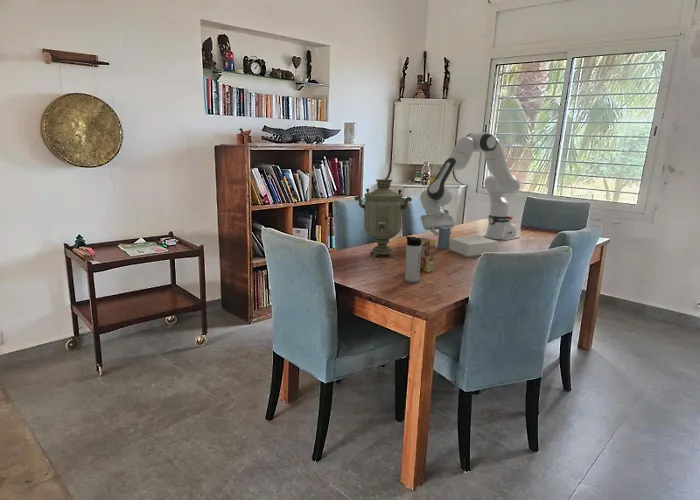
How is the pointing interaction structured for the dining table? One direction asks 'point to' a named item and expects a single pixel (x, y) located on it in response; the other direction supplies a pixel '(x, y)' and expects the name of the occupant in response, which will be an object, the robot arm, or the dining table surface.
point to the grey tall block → (443, 237)
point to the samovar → (382, 215)
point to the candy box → (427, 254)
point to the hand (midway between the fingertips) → (443, 234)
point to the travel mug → (413, 259)
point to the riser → (472, 245)
